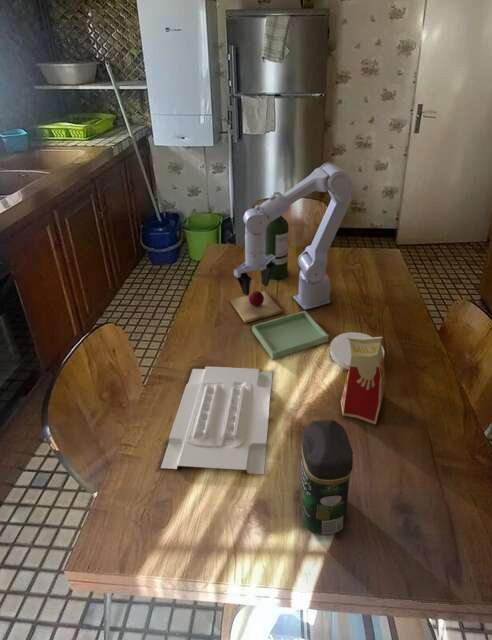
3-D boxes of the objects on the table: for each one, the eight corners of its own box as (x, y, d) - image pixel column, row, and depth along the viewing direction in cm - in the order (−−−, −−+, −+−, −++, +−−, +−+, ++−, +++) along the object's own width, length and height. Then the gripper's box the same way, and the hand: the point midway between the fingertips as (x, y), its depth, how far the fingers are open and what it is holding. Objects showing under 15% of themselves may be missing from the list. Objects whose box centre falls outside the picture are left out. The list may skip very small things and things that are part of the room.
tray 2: (304, 316, 131) (305, 310, 130) (328, 341, 121) (328, 335, 120) (252, 331, 124) (252, 325, 123) (272, 359, 114) (272, 353, 113)
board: (264, 293, 142) (264, 290, 142) (281, 312, 132) (281, 310, 132) (230, 302, 137) (230, 299, 137) (245, 323, 128) (245, 320, 127)
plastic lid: (384, 344, 120) (385, 337, 119) (381, 379, 108) (383, 372, 106) (333, 335, 123) (334, 328, 122) (325, 369, 111) (326, 361, 110)
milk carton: (382, 395, 103) (393, 326, 94) (377, 425, 95) (389, 353, 86) (344, 385, 106) (351, 318, 97) (336, 414, 98) (343, 343, 89)
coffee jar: (295, 486, 82) (298, 415, 74) (336, 482, 83) (344, 411, 75) (304, 540, 73) (309, 466, 65) (349, 535, 74) (360, 461, 66)
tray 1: (160, 468, 85) (158, 455, 83) (192, 371, 111) (191, 360, 109) (264, 474, 84) (264, 460, 83) (272, 375, 110) (272, 363, 108)
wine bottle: (282, 281, 149) (284, 199, 136) (261, 276, 152) (261, 195, 139) (290, 270, 156) (292, 191, 143) (269, 266, 158) (270, 188, 145)
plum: (261, 300, 137) (263, 288, 135) (264, 309, 133) (266, 296, 131) (247, 300, 136) (248, 288, 134) (249, 309, 132) (251, 297, 130)
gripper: (244, 262, 119) (245, 304, 125) (282, 246, 128) (281, 286, 134) (228, 253, 124) (230, 294, 129) (266, 238, 133) (266, 277, 138)
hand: (255, 289), depth 132 cm, fingers open, 7 cm apart
